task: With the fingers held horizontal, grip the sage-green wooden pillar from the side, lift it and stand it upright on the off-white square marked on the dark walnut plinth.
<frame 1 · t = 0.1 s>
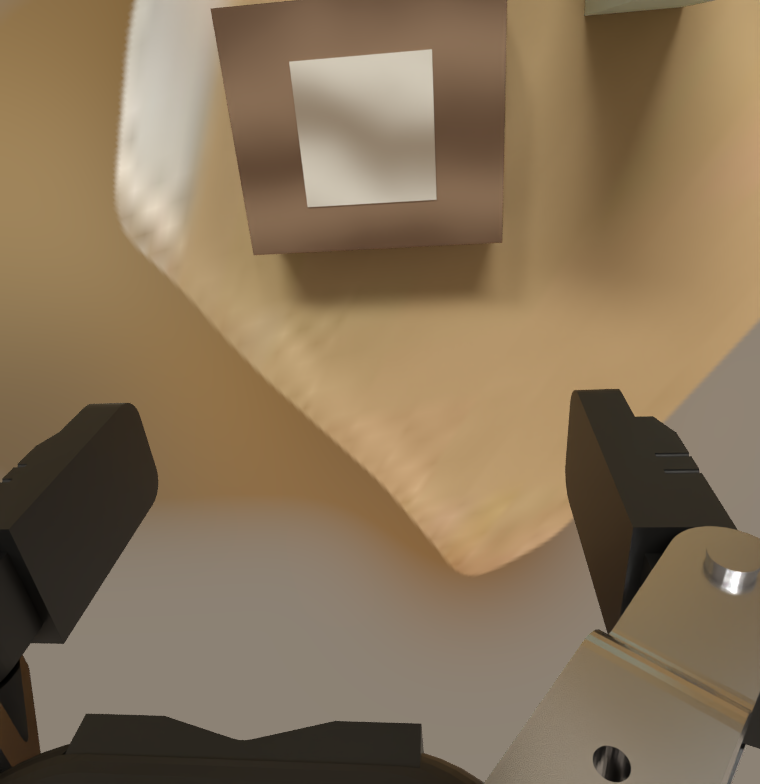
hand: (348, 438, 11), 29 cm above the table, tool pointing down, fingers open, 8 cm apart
plinth: (375, 124, 36), on the table
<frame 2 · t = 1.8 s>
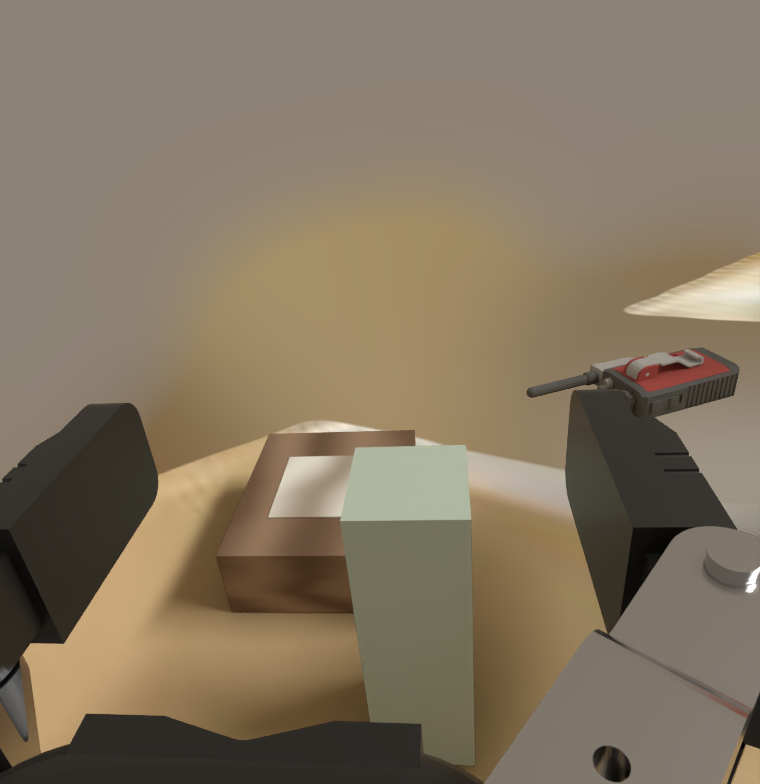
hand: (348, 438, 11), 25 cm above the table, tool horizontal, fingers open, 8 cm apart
pillar: (425, 717, 33), on the table
plinth: (335, 538, 46), on the table
walkie-talkie: (632, 399, 61), on the table
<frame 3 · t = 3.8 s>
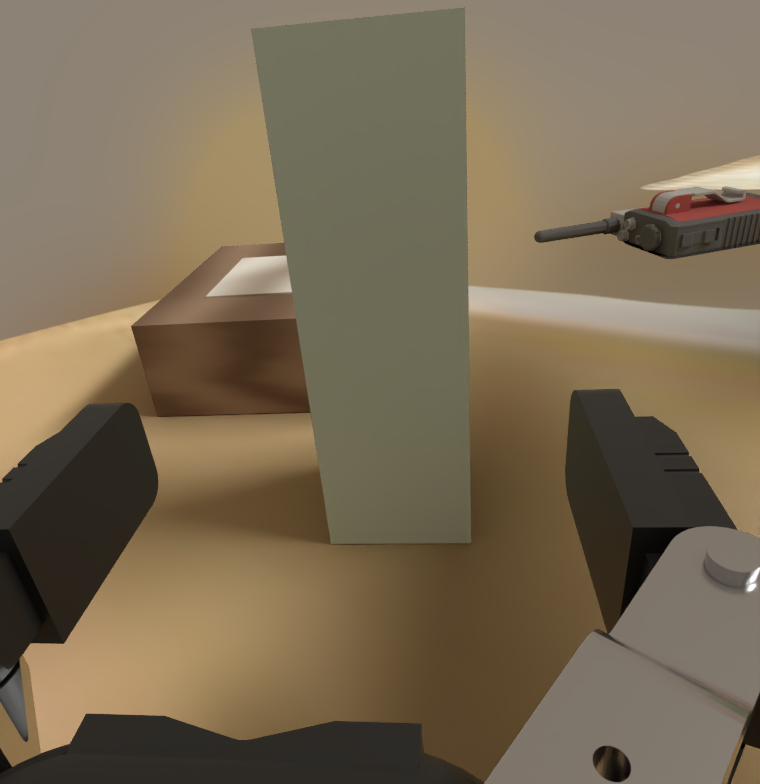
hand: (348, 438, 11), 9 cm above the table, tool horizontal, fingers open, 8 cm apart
pillar: (403, 499, 24), on the table
plinth: (298, 354, 37), on the table
walkie-talkie: (659, 247, 52), on the table
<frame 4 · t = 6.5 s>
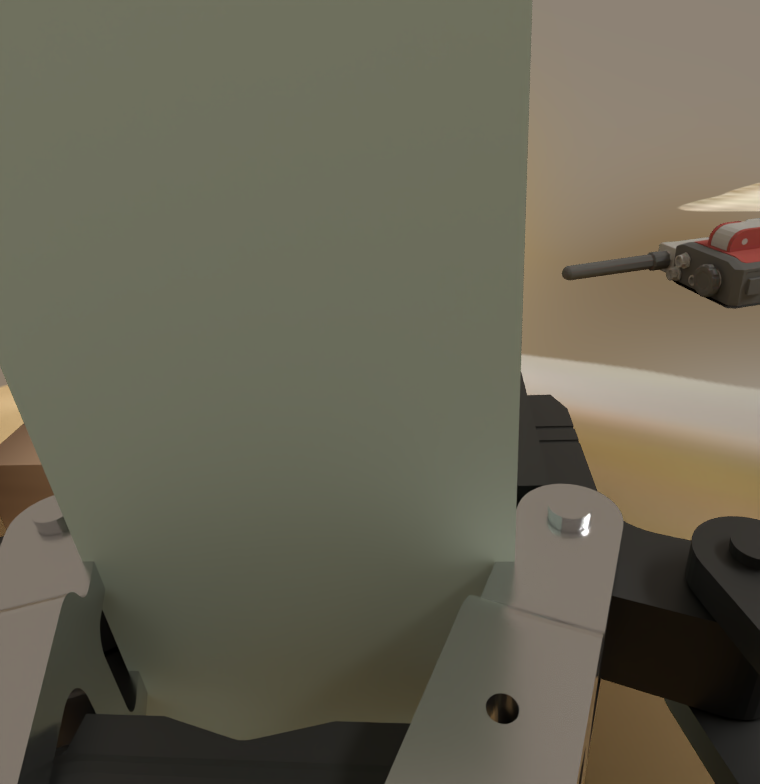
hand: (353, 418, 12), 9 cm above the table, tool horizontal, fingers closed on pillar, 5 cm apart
plinth: (250, 463, 27), on the table
walkie-talkie: (719, 289, 42), on the table
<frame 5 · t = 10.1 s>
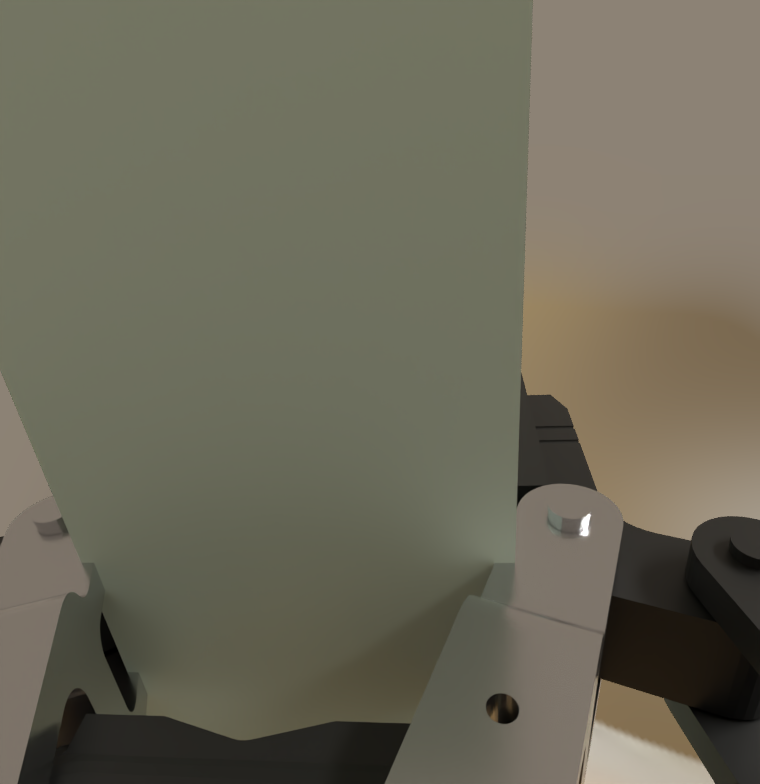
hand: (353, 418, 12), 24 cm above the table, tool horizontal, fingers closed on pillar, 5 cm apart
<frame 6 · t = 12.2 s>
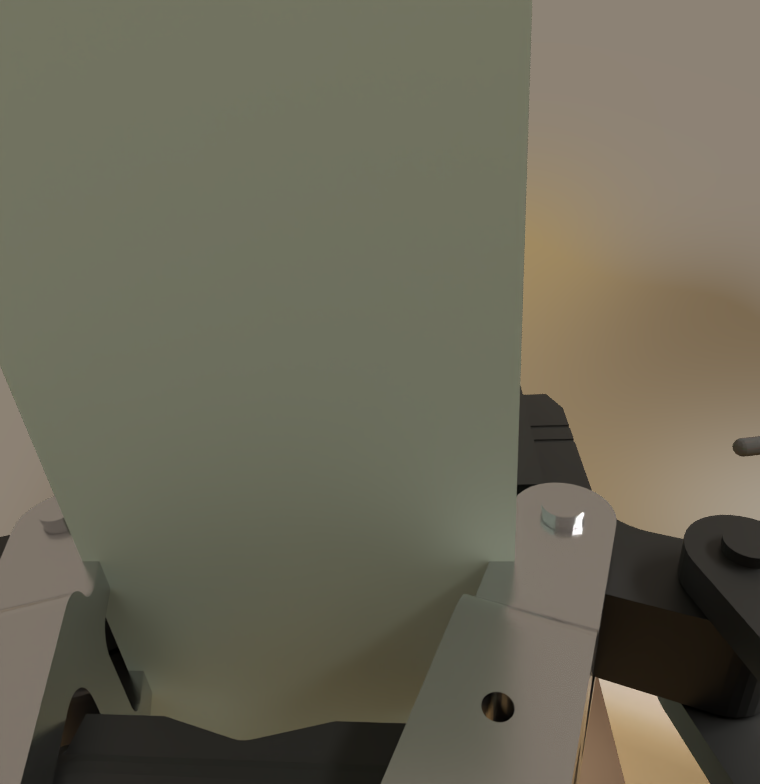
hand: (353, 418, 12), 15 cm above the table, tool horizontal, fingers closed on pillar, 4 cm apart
when the fingers open (15 cm above the table, at t = 12.5 s): pillar drops 1 cm, resting on plinth.
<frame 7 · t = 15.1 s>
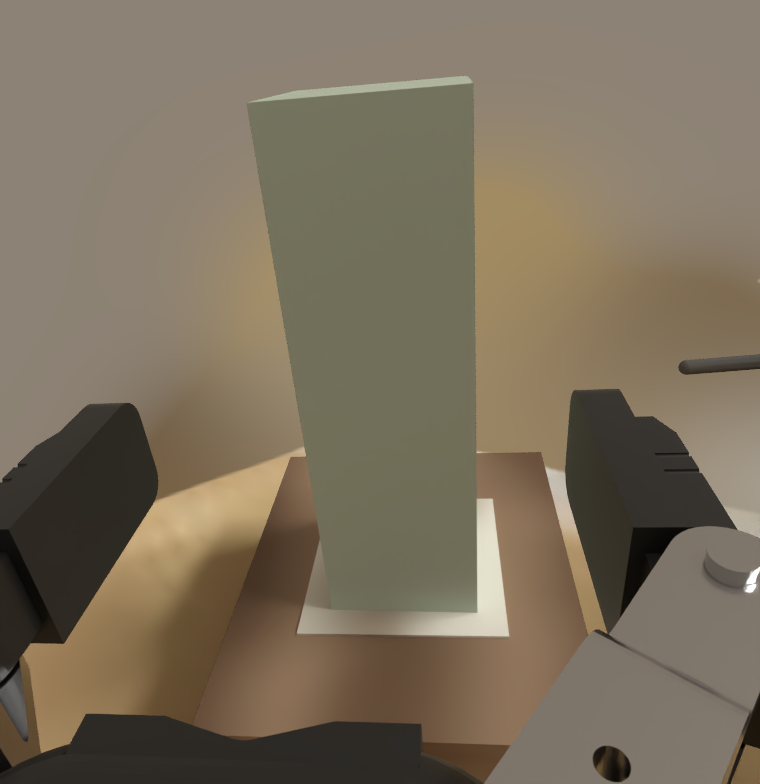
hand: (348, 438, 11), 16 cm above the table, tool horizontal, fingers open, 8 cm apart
pillar: (407, 558, 23), point 5 cm above the table, touching plinth
plinth: (413, 649, 26), on the table
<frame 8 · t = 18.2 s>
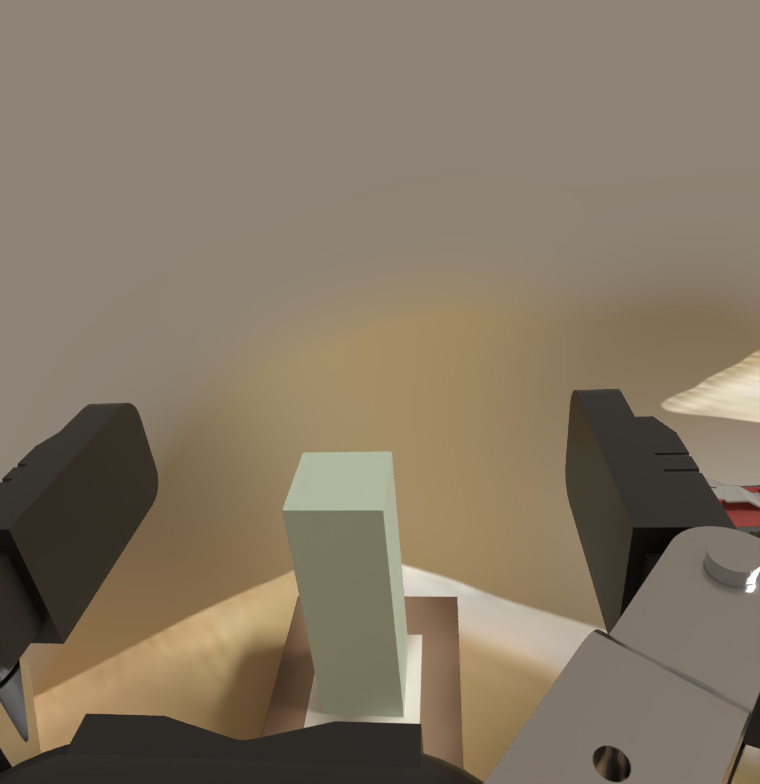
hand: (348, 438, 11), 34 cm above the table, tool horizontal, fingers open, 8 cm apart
pillar: (367, 679, 39), point 5 cm above the table, touching plinth
plinth: (373, 727, 42), on the table
walkie-talkie: (696, 526, 57), on the table
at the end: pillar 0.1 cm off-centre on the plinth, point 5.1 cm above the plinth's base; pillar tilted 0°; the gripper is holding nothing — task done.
